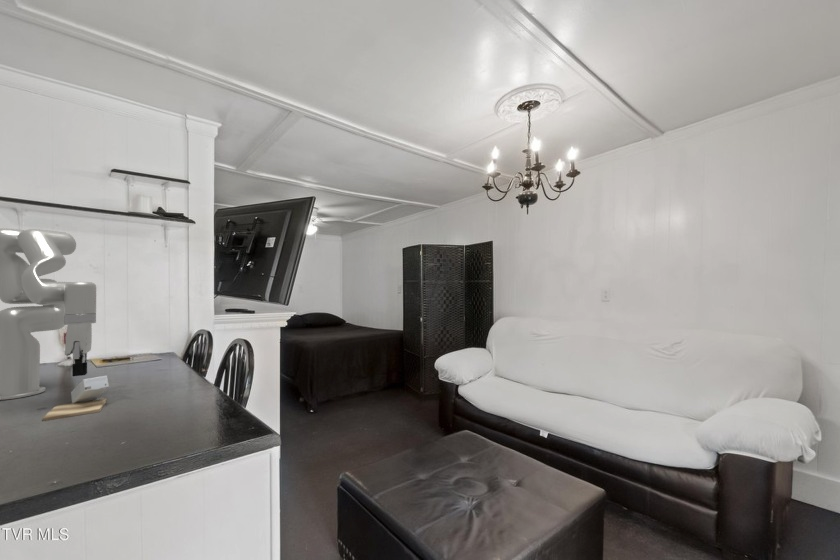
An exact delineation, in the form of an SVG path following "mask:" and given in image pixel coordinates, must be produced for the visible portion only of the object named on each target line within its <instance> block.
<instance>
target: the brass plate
mask: <svg viewBox="0 0 840 560" xmlns="http://www.w3.org/2000/svg"><path fill="white" fill-rule="evenodd" d="M107 402H108V398H107V397H106V398H101V399H99V398H98V399H96V400H92V401H85V402H79V403H72V402H71V403H67V404H59V405H55V406H54V407H52V408H51V410H49V411H48V412H47V413H46V414H45V415H44V416H43V417H42V418H41V419H42V420H41V421H42V422H45V421H51V420H57V419H58V420H59V419H64V417H65V418H69V417H70V416H71V417H75V416H81V415H82V416H83V415H88V414H93V413H100V412H101V410H103V408H104V406H105V405H106V403H107Z"/></svg>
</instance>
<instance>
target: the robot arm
mask: <svg viewBox="0 0 840 560" xmlns="http://www.w3.org/2000/svg"><path fill="white" fill-rule="evenodd" d="M76 249H77V242H76V239H75V238H74V237H73V235H71V234H70V233H67V232H63V231H57V230H47V229H39V228H38V229H36V228H32V229H31V228H30V229H25V230H24V229H19V228H18V229H16V228H0V301H1V302H2V303H4V304H8V305H25V306H14V307H13V306H12V307H8V308H7V307H6V308H3V309H2V310H0V400H1V401H2V400H3V401H4V400H14V399H20V398H26V397H31V396H34V395H38V394H41V393H44V392H46V387H45V386H40V376H41V375H40V373H41V372H40V371H41V370H40V369H41V368H40V366H41V362H40V361H41V345H40V341H39V340H38V339H37V338H36V337H34V335H32V334H31V333H36V332H39V333H40V332H48V331H57V330H61V329H63V328H64V327H65V326H66V333H65V343H64V344H65V345H64V346H65V347H64V355H65V356H71V355H72V366H71V367H72V369H71V371H72V377H80V376H86V375H87V374H88V358H87V357H88V353H89V352H90V351H91V350H92V341H93V339H92V338H93V337H92V336H93V335H92V333H93V332H92V331H93V330H92V329H93V328H92V324H97V285H96V284H95V283H94V282H89V281H73V282H72V281H57V280H55V279H52V278H40V277H41V276H46V275H49V274H53V273H55V272H59V271H60V270H62V269H63V268H64V267H65V266H66V263H67V261H66V258H65V256H68V255H71V254H73V253H74V252H75V251H76ZM17 253H19V254H23V255H24V256H25V258H26V259H27V261H28V262H27V261H26V260H25V259H23V257H21V256H20V255H18V254H17ZM28 304H30V306H28ZM33 304H36V305H35V306H34V305H33ZM26 305H27V306H26Z"/></svg>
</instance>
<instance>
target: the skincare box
mask: <svg viewBox="0 0 840 560" xmlns="http://www.w3.org/2000/svg"><path fill="white" fill-rule="evenodd" d="M109 385H110V383H109V379H108V375H101V376H96V377H90V378H84V379H82V380H81V381H80V382H79V383H78V384H76V386H75V387H74V388H73V389H72V390H71V392H70V395H71V404H72V403H79V402H85V401H92V400H98V399H99V397H101V396H102V394H103V393H105V391H106V390H108V389H109V388H110V386H109Z"/></svg>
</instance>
